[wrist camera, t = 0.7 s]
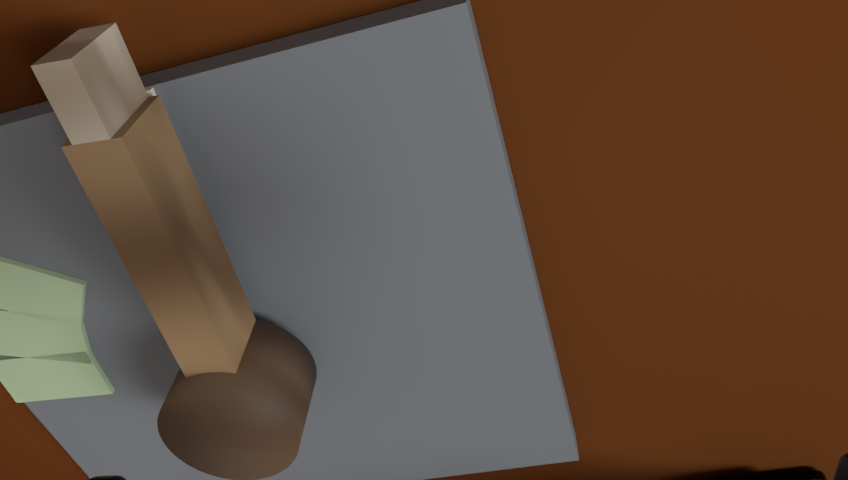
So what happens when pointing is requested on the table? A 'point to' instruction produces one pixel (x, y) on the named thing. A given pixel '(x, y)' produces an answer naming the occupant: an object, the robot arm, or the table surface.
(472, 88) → the board
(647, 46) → the table surface
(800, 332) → the table surface
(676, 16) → the table surface
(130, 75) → the peg lever
